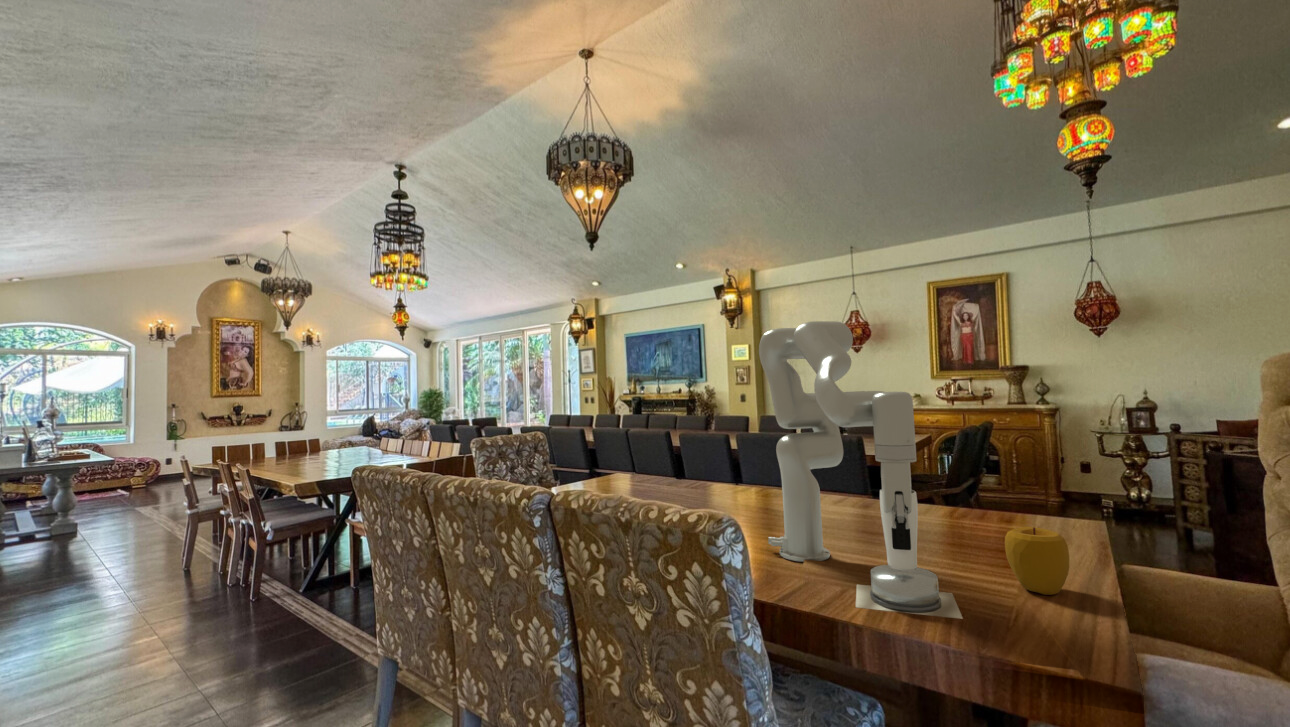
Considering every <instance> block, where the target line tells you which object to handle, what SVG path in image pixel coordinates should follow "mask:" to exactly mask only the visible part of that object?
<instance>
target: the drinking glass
mask: <svg viewBox="0 0 1290 727" xmlns="http://www.w3.org/2000/svg"><path fill="white" fill-rule="evenodd" d="M917 496H918V495H917V491H915V490H913V489H911V497H912V500H911V513H909V514H908V525H909V529H910V538H911V550H898V549H893V544H892V528H893V521H892V510H891V511H888V513H886V512H884V508H883V493H882V488H881V489H879V507H880V508H879V509H880V516H881V524H882V530H883V536H884V537H883V538H884V542H885V543H884V544H885V545H884V546H885V550H886V559H887V560H886V561H887V565H889V566H890V567H891V568H893V569H896V570H902V571H910V570H914V569H916V567H918V556H917V555H918V554H917V552H918V520H919V519H918V518H919V517H918V516H919V515H918V514H919V513H918V512H919V510H918V508H919V506H918V497H917ZM902 497H903V495H902ZM895 500H896V497H895ZM904 504H905V503H904ZM907 510H908V507H907ZM894 512H897V508H896V507H894ZM904 512H905V508H904ZM907 513H908V512H907ZM896 516H897V515H895V517H896ZM904 517H905V516H904Z"/></svg>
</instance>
